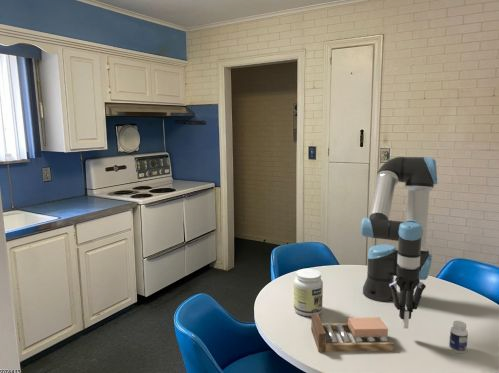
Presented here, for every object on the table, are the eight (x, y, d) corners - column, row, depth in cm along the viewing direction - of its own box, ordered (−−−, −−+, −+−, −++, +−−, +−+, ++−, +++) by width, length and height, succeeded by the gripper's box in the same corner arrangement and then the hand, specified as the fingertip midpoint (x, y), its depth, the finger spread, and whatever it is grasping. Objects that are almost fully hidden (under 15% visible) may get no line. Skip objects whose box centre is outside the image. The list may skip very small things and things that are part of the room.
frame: (378, 328, 148) (379, 311, 147) (393, 350, 134) (394, 332, 132) (311, 330, 147) (311, 313, 146) (318, 352, 133) (319, 333, 132)
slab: (379, 324, 144) (379, 317, 144) (387, 336, 136) (387, 328, 136) (348, 325, 144) (348, 318, 143) (354, 337, 136) (354, 329, 135)
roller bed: (324, 329, 146) (324, 323, 145) (377, 328, 146) (377, 322, 145) (330, 346, 135) (331, 339, 134) (387, 344, 135) (388, 338, 135)
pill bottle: (445, 344, 137) (447, 319, 135) (460, 344, 137) (462, 318, 135) (455, 353, 131) (457, 327, 130) (469, 352, 132) (472, 326, 130)
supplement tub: (315, 320, 155) (316, 281, 152) (288, 312, 161) (289, 275, 158) (326, 308, 165) (327, 271, 162) (300, 301, 171) (301, 265, 168)
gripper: (421, 261, 140) (417, 320, 144) (386, 262, 140) (383, 321, 144) (431, 269, 133) (426, 331, 136) (394, 269, 132) (391, 332, 136)
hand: (404, 326), depth 140 cm, fingers closed
